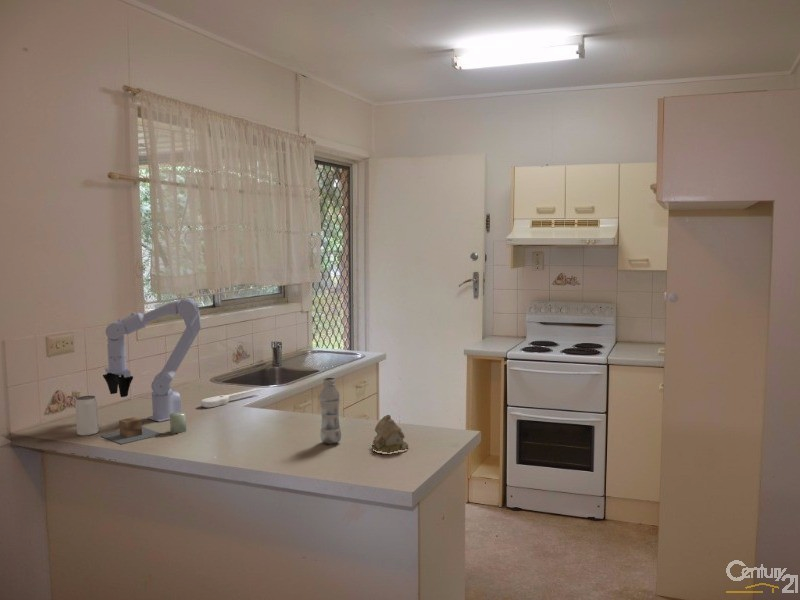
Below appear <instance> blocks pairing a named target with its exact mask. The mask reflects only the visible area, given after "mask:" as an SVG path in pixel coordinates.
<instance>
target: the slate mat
mask: <svg viewBox="0 0 800 600" xmlns="http://www.w3.org/2000/svg"><path fill="white" fill-rule="evenodd" d="M161 434H163V433H161V432H158V431H155V430H152V429H150V428H146V427H143V426H142V435H139V436H134V437H130V438H126V437H123V436H120V431H116V432H111V433H107V434H103V435H100V437H102V438H104V439H106V440H109V441H112V442H114V443H116V444H119V445H125V444H128V443H133V441H134V442H138V441H142V440H145V438H146V439H150V438H153V436H154V437H157V435H159V436H162V435H161ZM149 437H150V438H149ZM141 439H142V440H141ZM137 440H138V441H137Z"/></svg>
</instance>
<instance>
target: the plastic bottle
mask: <svg viewBox="0 0 800 600" xmlns="http://www.w3.org/2000/svg"><path fill="white" fill-rule="evenodd" d="M336 383H337V382H336V378H335V377H325V378H323V383H322V385H323V387H322V389H321V391H320V393H319V403H320V410H321V413H320V414H321V425H320V426H321V428H320V434H319V436H320V440H321V442H322V443H323V442H324V443H323V444H326V443H329V444H328V445H331V444H332V443H333V444H337V443H339V442H341V439H342V430H341V426H340V424H341V423H340V403H341V394H340V391H339V390H338V389H337V387H336V386H337V384H336ZM333 444H332V445H333Z"/></svg>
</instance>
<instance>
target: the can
mask: <svg viewBox="0 0 800 600" xmlns="http://www.w3.org/2000/svg"><path fill="white" fill-rule="evenodd" d="M74 406H75V423H76V424H75V425H76V434H77V435H78V436H81V437H85V436H88V437H89V436H93V435H96V434H98V432H99V414H98V411H99V410H98V400H97V399H96V396H95V395H83V396H82V395H81V396H78V397H76V401H75V405H74Z"/></svg>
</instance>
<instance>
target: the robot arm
mask: <svg viewBox="0 0 800 600" xmlns="http://www.w3.org/2000/svg"><path fill="white" fill-rule="evenodd" d="M178 314H179V315H180V316H181V318H182V319H183V321H184V324H185V327H186V328H185V329H184V331H183V332H182V334H181V336H180V338H179V340H178V341H177V343H176V345H175V347H174V349H173V350H172V352H171V354H170V355H169V358H168V359H167V361H166V363H165V365H164V366H163V367H162V369H161V371H160V372H159V373H157V374H156V375H155V377H154V378H153V381H152V382H151V387H150V388H151V389H152V392H151V407H152V409H151V410H152V415H151V416H148V417H147V419H148V420H149V419H150V420H153V421H156V422H164V421H168V420H169V421H170V414H171V413H175V412H182V410H183V409H182V397H181V395H180V392H178V391H174V390H173V389H172V388H171V387H172V385H173V378H174V377H175V374H176V373H177V371H178V369H179V367H180V365H181V363H182V362H183V360H184V359H185V357H186V355H187V353H188V351H189V350H190V347H191V346H192V345H193V342H194V341H195V339H196V337H197V336H198V334H199V332H200V331H201V327H202V325H201V324H202V323H201V315H200V308H199V305H198V304H197V301H196V300H195V299H193V297H184V298H182V299H176V300H173V301H169V302H168V303H165V304H163V305H160V306H158V307H157V308H154V309H153V310H152V309H151V310H150V311H147V312H145V313H141V312H134V311H133V312H131V313H130V315H129V316H126V317H123V318H118V319H117V320H116V321H113V322H111V323H110V324H108V325H107V326H106V328H105V335H106V337H107V340H106V341H107V362H108V363H107V365H108V366H106V367H104V369H105V373H106V374H103V375H102V377H103V379H104V380H105V382H106V384H107V387H108V390H109V394H110V395H114V394H118V392H119V395H120V397H121V398H125V397H128V395H129V390H130V386H131V383H132V381H133V380H134V376H133V375H131V370H129V369H128V368H127V354H126V352H127V351H126V342H125V335H130V334H132V333H135V332H136V331H140V330H142V329H144V328H146V326H147V323H149V322H152V321H154V320H156V319H158V318H162V317H164V316H167V315H174V316H177V315H178ZM118 390H119V391H118Z"/></svg>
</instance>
